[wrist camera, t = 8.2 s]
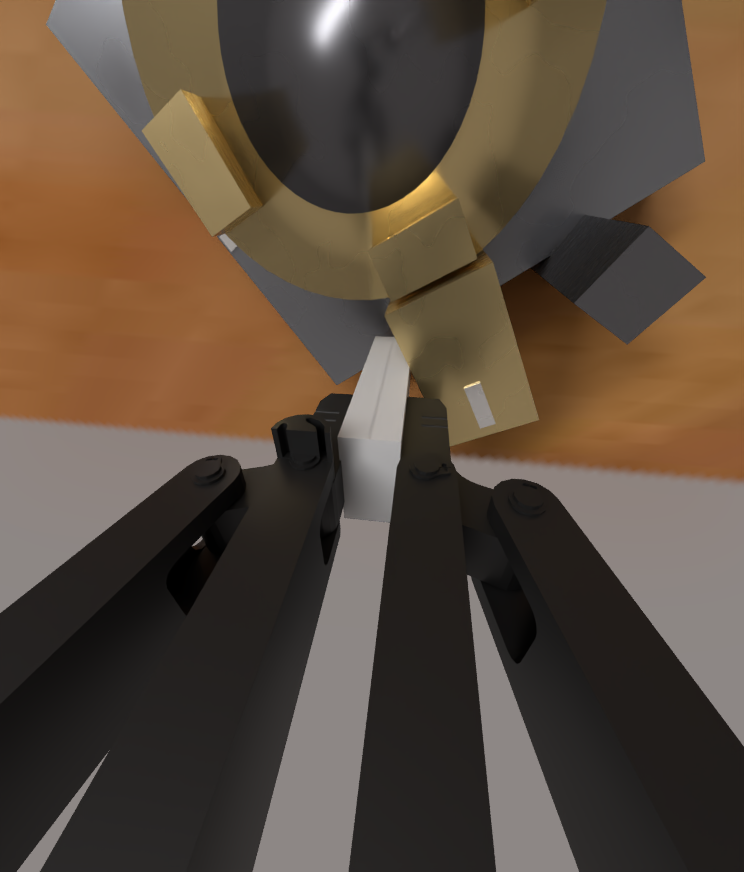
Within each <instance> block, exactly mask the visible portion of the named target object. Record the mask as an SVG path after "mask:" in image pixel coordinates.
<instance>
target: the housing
mask: <svg viewBox="0 0 744 872" xmlns="http://www.w3.org/2000/svg"><path fill="white" fill-rule="evenodd" d="M46 25H47V26H48V27H49V29H50V30H51V31H52V32H53V34H54V35H55V36H56V37H57V39H58V40H59V41H60V42H61V44H62V45H63V46H64V47H65V49H66V50H67V51H68V52H69V54H70V55H71V56H72V57H73V58H74V60H75V61H76V62H77V63H78V65H79V66H80V67H81V68H82V70H83V71H84V72H85V73H86V75H87V76H88V77H89V78H90V80H91V81H92V82H93V83H94V85H95V86H96V87H97V88H98V90H99V91H100V92H101V93H102V94H103V96H104V97H105V98H106V99H107V101H108V102H109V103H110V104H111V106H112V107H113V108H114V109H115V111H116V112H117V113H118V114H119V116H120V117H121V118H122V119H123V121H124V122H125V123H126V124H127V125H128V127H129V128H130V129H131V130H132V132H133V133H134V134H135V135H136V137H137V138H138V139H139V140H140V142H141V143H142V144H143V145H144V147H145V148H146V149H147V150H148V152H149V153H150V154H151V155H152V157H153V158H154V159H155V160H156V161H157V163H158V164H159V165H160V166H161V168H162V169H163V170H164V171H165V173H166V174H167V175H168V176H169V178H170V179H171V180H172V181H173V183H174V184H175V185H176V186H177V188H178V189H179V190H180V191H181V189H180V188H179V186H178V185H177V183H176V182H175V180H174V179H173V177H172V176H171V174H170V173H169V171H168V170H167V168H166V167H165V165H164V164H163V162H162V161H161V159H160V158H159V156H158V155H157V153H156V152H155V150H154V149H153V147H152V146H151V144H150V143H149V141H148V140H147V138H146V137H145V135H144V134H143V132H142V130H143V129H144V128H145V126H146V125H147V124H148V123H149V122H150V121H151V120H152V119H153V118H154V115H153V113H152V110H151V108H150V105H149V103H148V100H147V98H146V95H145V92H144V88H143V85H142V82H141V79H140V75H139V72H138V69H137V66H136V62H135V59H134V56H133V52H132V47H131V43H130V38H129V34H128V29H127V25H126V21H125V16H124V12H123V6H122V0H56V1H55V4H54V6H53V9H52V11H51V14H50V16H49V19H48V21H47V24H46ZM703 162H705V157H704V150H703V143H702V136H701V130H700V123H699V116H698V109H697V102H696V96H695V89H694V82H693V75H692V69H691V62H690V55H689V48H688V42H687V35H686V28H685V21H684V14H683V8H682V1H681V0H606V6H605V11H604V15H603V19H602V23H601V27H600V31H599V35H598V39H597V43H596V47H595V51H594V55H593V59H592V62H591V65H590V68H589V71H588V74H587V77H586V80H585V83H584V86H583V89H582V92H581V95H580V98H579V101H578V103H577V106H576V108H575V110H574V113H573V115H572V117H571V120H570V122H569V124H568V126H567V129H566V131H565V133H564V135H563V138H562V140H561V142H560V144H559V146H558V148H557V150H556V152H555V153H554V155H553V157H552V159H551V161H550V162H549V164H548V166H547V168H546V170H545V171H544V173H543V175H542V177H541V179H540V180H539V182H538V183H537V185H536V186H535V187H534V189H533V190H532V192H531V193H530V195H529V196H528V198H527V199H526V201H525V202H524V203H523V205H522V206H521V208H520V209H519V210H518V211H517V213H516V214H515V215H514V216H513V217H512V219H511V220H510V221H509V222H508V223H507V224H506V226H505V227H504V228H503V229H502V230H501V232H500V233H499V234H498V235H497V236H496V237H495V238H493V239H492V240H491V241H490V242H489V243H488V244H487V245H486V246H485V247H484V248H483V250H484V252H485V253H486V254H487V255H488V257H489V258H490V259H491V260H492V262H493V264H494V267H495V270H496V274H497V277H498V281H499V284H500V286H501V285H503V284H504V283H506V282H507V281H509V280H511V279H512V278H514V277H516V276H517V275H519V274H521V273H522V272H524V271H526V270H527V269H529V268H532V269H533V270H534V271H535V272H536V273H538V274H539V275H540V276H541V277H542V278H544V279H545V280H546V281H547V282H549V283H550V284H551V285H552V286H553V287H555V288H556V289H557V290H558V291H560V292H561V293H562V294H563V295H564V296H566V297H567V298H568V299H569V300H570V301H572V302H573V303H574V304H575V305H577V306H578V307H579V308H581V309H582V310H583V311H584V312H586V313H587V314H588V315H590V316H591V317H592V318H594V319H595V320H596V321H597V322H599V323H600V324H601V325H603V326H604V327H605V328H607V329H608V330H609V331H610V332H612V333H613V334H614V335H616V336H617V337H618V338H619V339H621V340H622V341H623V342H625V343H626V344H629V343H630V342H631V341H632V340H633V339H634V338H636V337H637V336H638V335H639V334H640V333H641V332H643V331H644V330H645V329H646V328H647V327H648V326H650V325H651V324H652V323H653V322H654V321H656V320H657V319H658V318H659V317H660V316H661V315H663V314H664V313H665V312H666V311H667V310H668V309H670V308H671V307H672V306H673V305H674V304H675V303H677V302H678V301H679V300H680V299H681V298H682V297H684V296H685V295H686V294H687V293H688V292H689V291H691V290H692V289H693V288H694V287H695V286H697V285H698V284H699V283H700V282H701V281H702V280H704V279H705V278H706V277H705V276H704V275H703V274H702V273H701V272H700V271H699V270H697V269H696V268H695V267H694V266H693V265H692V264H691V263H690V262H688V261H687V260H686V259H685V258H684V257H683V256H682V255H681V254H680V253H678V252H677V251H676V250H675V249H674V248H673V247H672V246H671V245H669V244H668V243H667V242H666V241H665V240H664V239H663V238H662V237H660V236H659V235H658V234H657V233H656V232H655V231H654V230H653V229H652V228H650V227H649V226H645V225H639V224H634V223H628V222H623V221H617V220H612V219H611V218H613V217H614V216H616V215H618V214H619V213H621V212H623V211H624V210H626V209H627V208H629V207H631V206H632V205H634V204H636V203H637V202H639V201H641V200H642V199H644V198H646V197H647V196H649V195H650V194H652V193H654V192H655V191H657V190H659V189H660V188H662V187H664V186H665V185H667V184H669V183H670V182H672V181H674V180H675V179H677V178H678V177H680V176H682V175H683V174H685V173H687V172H688V171H690V170H692V169H693V168H695V167H697V166H698V165H700V164H701V163H703ZM181 192H182V191H181ZM182 194H183V192H182ZM183 195H184V194H183ZM184 196H185V195H184ZM186 199H187V198H186ZM217 237H218V238H219V240H220V241H221V242H222V243H223V245H224V246H225V247H226V248H227V250H228V251H229V252H230V253H231V255H232V256H233V257H234V258H235V259H236V261H237V262H238V263H239V264H240V266H241V267H242V268H243V269H244V271H245V272H246V273H247V274H248V276H249V277H250V278H251V279H252V281H253V282H254V283H255V284H256V286H257V287H258V288H259V289H260V291H261V292H262V293H263V294H264V295H265V297H266V298H267V299H268V300H269V302H270V303H271V304H272V305H273V307H274V308H275V309H276V310H277V312H278V313H279V314H280V315H281V317H282V318H283V319H284V320H285V322H286V323H287V324H288V325H289V326H290V328H291V329H292V330H293V331H294V333H295V334H296V335H297V336H298V338H299V339H300V340H301V341H302V343H303V344H304V345H305V346H306V348H307V349H308V350H309V351H310V353H311V354H312V355H313V356H314V358H315V359H316V360H317V361H318V362H319V364H320V365H321V366H322V367H323V369H324V370H325V371H326V372H327V374H328V375H329V376H330V377H331V379H332V380H333V381H334V382H335V384H336V385H338V384H340V383H341V382H343V381H345V380H346V379H348V378H350V377H351V376H353V375H355V374H356V373H358V372H359V371H361V370H363V368H364V365H365V363H366V360H367V357H368V355H369V352H370V349H371V347H372V344H373V341H374V339H375V336H381V337H394V335H393V333H392V331H391V329H390V327H389V325H388V323H387V321H386V318H385V316H384V315H385V312H386V310H387V307H388V304H389V302H390V298H382V299H375V300H346V299H340V298H333V297H327V296H324V295H320V294H317V293H313V292H310V291H307V290H304V289H302V288H300V287H298V286H295V285H293V284H291V283H288V282H286V281H285V280H283V279H281V278H280V277H278V276H276V275H274V274H273V273H271V272H269V271H268V270H266V269H265V268H264V267H262V266H261V265H260V264H258V263H257V262H256V261H254V260H253V259H252V258H250V257H249V256H248V255H247V254H245V253H244V252H243V251H242V250H241V249H240V248H239V247H238V246H237V245H236V244H235V243H234V242H233V241H232V240H231V239H229V238H228V236H227V235H226V234H223V235H218V236H217Z"/></svg>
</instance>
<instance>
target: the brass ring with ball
mask: <svg viewBox="0 0 744 872" xmlns="http://www.w3.org/2000/svg"><path fill="white" fill-rule="evenodd" d="M122 6H123V12H124V16H125V21H126V25H127V29H128V34H129V38H130V43H131V47H132V52H133V56H134V59H135V62H136V66H137V69H138V72H139V75H140V79H141V82H142V85H143V88H144V92H145V95H146V98H147V100H148V103H149V105H150V108H151V110H152V113H153V115H154V118H153V119H152V120H151V121H150V122H149V123H148V124H147V125H146V126H145V128H144V129H143V130H142V132H143V134H144V135H145V137H146V138H147V140H148V141H149V143H150V144H151V146H152V147H153V149H154V150H155V152H156V153H157V155H158V156H159V158H160V159H161V161H162V162H163V164H164V165H165V167H166V168H167V170H168V171H169V173H170V174H171V176H172V177H173V179H174V180H175V182H176V183H177V185H178V186H179V188H180V189H181V191H182V192H183V194H184V195H185V197H186V198H187V200H188V201H189V203H190V204H191V206H192V207H193V209H194V210H195V212H196V213H197V215H198V216H199V218H200V219H201V221H202V222H203V224H204V225H205V227H206V228H207V230H208V231H209V233H210V234H211V236H212V237H214V236H218V235H223V234H226V235H227V236H228V238H229V239H231V240H232V241H233V242H234V243H235V244H236V245H237V246H238V247H239V248H240V249H241V250H242V251H243V252H244V253H245V254H247V255H248V256H249V257H250V258H252V259H253V260H254V261H256V262H257V263H258V264H260V265H261V266H262V267H264V268H265V269H266V270H268V271H269V272H271V273H273V274H274V275H276V276H278V277H280V278H281V279H283V280H285V281H286V282H288V283H291V284H293V285H295V286H298V287H300V288H302V289H304V290H307V291H310V292H313V293H317V294H320V295H324V296H327V297H333V298H340V299H346V300H375V299H382V298H390V302H389V304H388V307H387V310H386V312H385V315H384V316H385V318H386V321H387V323H388V325H389V327H390V329H391V331H392V333H393V335H394V337H395V339H396V341H397V343H398V345H399V347H400V349H401V351H402V354H403V356H404V358H405V360H406V362H407V364H408V366H409V368H410V370H411V372H412V374H413V376H414V378H415V380H416V382H417V384H418V387H419V389H420V391H421V393H422V395H423V397H424V398H433V399H440V401H441V402H442V403H443V404H444V405H445V407H446V408H447V420H448V431H449V444H450V446H453V445H457V444H460V443H463V442H467V441H470V440H474V439H477V438H480V437H484V436H487V435H490V434H494V433H497V432H500V431H504V430H507V429H510V428H514V427H517V426H521V425H524V424H527V423H531V422H534V421H537V420H539V418H538V414H537V411H536V407H535V404H534V400H533V397H532V394H531V390H530V387H529V383H528V380H527V377H526V373H525V370H524V366H523V363H522V359H521V356H520V353H519V349H518V346H517V342H516V339H515V335H514V332H513V329H512V325H511V322H510V318H509V315H508V312H507V308H506V305H505V301H504V298H503V294H502V291H501V288H500V284H499V281H498V277H497V274H496V270H495V267H494V264H493V262H492V260H491V259H490V258H489V257H488V255H487V254H486V253H485V252H484V250H483V248H484V247H485V246H486V245H487V244H488V243H489V242H490V241H491V240H492V239H493V238H495V237H496V236H497V235H498V234H499V233H500V232H501V230H502V229H503V228H504V227H505V226H506V224H507V223H508V222H509V221H510V220H511V219H512V217H513V216H514V215H515V214H516V213H517V211H518V210H519V209H520V208H521V206H522V205H523V203H524V202H525V201H526V199H527V198H528V196H529V195H530V193H531V192H532V190H533V189H534V187H535V186H536V185H537V183H538V182H539V180H540V179H541V177H542V175H543V173H544V171H545V170H546V168H547V166H548V164H549V162H550V161H551V159H552V157H553V155H554V153H555V152H556V150H557V148H558V146H559V144H560V142H561V140H562V138H563V135H564V133H565V131H566V129H567V126H568V124H569V122H570V120H571V117H572V115H573V113H574V110H575V108H576V106H577V103H578V101H579V98H580V95H581V92H582V89H583V86H584V83H585V80H586V77H587V74H588V71H589V68H590V65H591V62H592V59H593V55H594V51H595V47H596V43H597V39H598V35H599V31H600V27H601V23H602V19H603V15H604V11H605V6H606V0H122Z"/></svg>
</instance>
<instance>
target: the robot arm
mask: <svg viewBox="0 0 744 872" xmlns="http://www.w3.org/2000/svg"><path fill="white" fill-rule="evenodd" d="M410 373H411V370H410V368H409V366H408V364H407V362H406V360H405V358H404V356H403V354H402V351H401V349H400V347H399V345H398V343H397V341H396V339H395V337H381V336H375V339H374V341H373V344H372V347H371V349H370V352H369V355H368V357H367V360H366V363H365V365H364V368H363V371H362V373H361V376H360V378H359V381H358V384H357V386H356V389H355V392H354V394H353V395H349V394H333V393H331V394H330V395H328V396H327V397H325V398H324V399H323V400H321V401H320V403H319V405H318V407H317V409H316V412H315V413H314V415H295V416H291V417H287V418H285V419H283V420H281V421H279V422H277V423H276V424H275V425H274V426H273V427H272V428H271V430H272V435H273V439H274V443H275V448H276V452H277V457H278V458H277V460H276V461H275V463H274V464H273V465H268V466H264V467H257V468H250V469H241V466H240V464H239V462H238V460H236V459H235V458H233V457H231V456H225V455H216V456H208V457H205V458H202V459H200V460H197V461H195V462H194V463H192V464H190V465H189V466H187V467H186V468H185V469H183V470H182V471H181V472H179V473H178V474H177V475H176V476H174V477H173V478H172V479H170V480H169V481H168V482H167V483H165V484H164V485H163V486H162V487H160V488H159V489H158V490H157V491H155V492H154V493H153V494H151V495H150V496H149V497H148V498H146V499H145V500H144V501H143V502H141V503H140V504H139V505H137V506H136V507H135V508H134V509H132V510H131V511H130V512H128V513H127V514H126V515H125V516H123V517H122V518H121V519H120V520H118V521H117V522H116V523H114V524H113V525H112V526H111V527H109V528H108V529H107V530H106V531H104V532H103V533H102V534H101V535H99V536H98V537H97V538H95V539H94V540H93V541H92V542H90V543H89V544H88V545H86V546H85V547H84V548H83V549H81V550H80V551H79V552H78V553H76V554H75V555H74V556H73V557H71V558H70V559H69V560H68V561H66V562H65V563H64V564H62V565H61V566H60V567H59V568H57V569H56V570H55V571H53V572H52V573H51V574H50V575H48V576H47V577H46V578H45V579H43V580H42V581H41V582H39V583H38V584H37V585H36V586H34V587H33V588H32V589H31V590H29V591H28V592H27V593H25V594H24V595H23V596H22V597H20V598H19V599H18V600H17V601H15V602H14V603H13V604H12V605H10V606H9V607H8V608H6V609H5V610H4V611H3V612H1V613H0V872H17V870H18V869H19V868H20V866H21V865H22V864H23V862H24V861H25V860H26V858H27V857H28V856H29V854H30V853H31V852H32V851H33V849H34V848H35V847H36V845H37V844H38V843H39V841H40V840H41V839H42V837H43V836H44V835H45V834H46V832H47V831H48V830H49V828H50V827H51V826H52V824H53V823H54V822H55V821H56V819H57V818H58V817H59V815H60V814H61V813H62V811H63V810H64V809H65V807H66V806H67V805H68V804H69V802H70V801H71V799H72V798H73V797H74V796H75V794H76V793H77V792H78V790H79V789H80V788H81V787H82V785H83V784H84V783H85V781H86V780H87V779H88V777H89V776H90V775H91V773H92V772H93V771H94V770H95V768H96V767H97V766H98V764H99V763H100V762H101V760H102V759H103V758H104V756H105V755H106V754H107V753H108V754H107V756H106V758H105V759H104V761H103V763H102V765H101V766H100V768H99V770H98V772H97V773H96V775H95V777H94V778H93V780H92V782H91V784H90V786H89V787H88V789H87V791H86V793H85V794H84V796H83V798H82V799H81V801H80V803H79V805H78V806H77V808H76V810H75V812H74V814H73V815H72V817H71V819H70V821H69V822H68V824H67V826H66V828H65V829H64V831H63V832H62V834H61V836H60V838H59V840H58V841H57V843H56V845H55V847H54V848H53V850H52V852H51V853H50V855H49V857H48V859H47V860H46V862H45V864H44V866H43V867H42V869H41V871H40V872H252V871H253V867H254V864H255V860H256V856H257V852H258V848H259V844H260V840H261V837H262V833H263V829H264V825H265V821H266V817H267V814H268V810H269V806H270V802H271V798H272V795H273V791H274V787H275V783H276V779H277V775H278V772H279V768H280V764H281V760H282V756H283V752H284V748H285V745H286V741H287V737H288V733H289V729H290V726H291V722H292V718H293V714H294V710H295V706H296V703H297V698H298V695H299V691H300V687H301V683H302V680H303V675H304V672H305V668H306V664H307V660H308V657H309V653H310V649H311V645H312V641H313V637H314V634H315V630H316V626H317V622H318V618H319V615H320V610H321V607H322V603H323V599H324V595H325V591H326V587H327V584H328V580H329V576H330V572H331V568H332V564H333V561H334V557H335V553H336V549H337V546H338V542H339V538H340V517H341V513H342V509H343V508H344V518H350V519H360V520H369V521H379V522H388V523H390V528H389V536H388V545H387V553H386V562H385V571H384V578H383V588H382V596H381V604H380V612H379V621H378V629H377V638H376V646H375V654H374V663H373V671H372V679H371V688H370V697H369V705H368V713H367V722H366V730H365V739H364V747H363V755H362V764H361V772H360V781H359V789H358V797H357V806H356V814H355V823H354V831H353V840H352V848H351V856H350V865H349V872H496V866H495V856H494V845H493V835H492V825H491V817H490V816H491V815H490V805H489V795H488V784H487V775H486V765H485V755H484V744H483V734H482V724H481V714H480V704H479V693H478V683H477V673H476V663H475V652H474V642H473V632H472V622H471V613H470V602H469V591H468V581H467V575H470V576H471V578H472V581H473V584H474V587H475V590H476V592H477V595H478V598H479V601H480V603H481V606H482V609H483V612H484V614H485V617H486V620H487V622H488V625H489V628H490V631H491V633H492V636H493V639H494V641H495V644H496V647H497V650H498V652H499V655H500V657H501V660H502V663H503V666H504V669H505V671H506V674H507V677H508V679H509V682H510V685H511V687H512V690H513V693H514V695H515V698H516V701H517V704H518V706H519V709H520V712H521V715H522V717H523V720H524V723H525V725H526V728H527V731H528V734H529V736H530V739H531V742H532V744H533V747H534V750H535V753H536V755H537V758H538V761H539V764H540V766H541V769H542V772H543V774H544V777H545V780H546V783H547V785H548V788H549V791H550V793H551V796H552V799H553V802H554V804H555V807H556V810H557V812H558V815H559V817H560V820H561V823H562V826H563V829H564V831H565V834H566V837H567V839H568V842H569V845H570V848H571V850H572V853H573V856H574V858H575V861H576V864H577V867H578V869H579V872H744V746H743V745H742V744H741V742H740V741H739V740H738V738H737V737H736V735H735V734H734V733H733V732H732V730H731V729H730V728H729V726H728V725H727V723H726V722H725V721H724V719H723V718H722V717H721V715H720V714H719V713H718V712H717V710H716V709H715V708H714V706H713V705H712V703H711V702H710V701H709V699H708V698H707V697H706V695H705V694H704V693H703V691H702V690H701V689H700V688H699V686H698V685H697V683H696V682H695V681H694V679H693V678H692V677H691V675H690V674H689V673H688V671H687V670H686V669H685V667H684V666H683V665H682V663H681V662H680V661H679V659H677V657H676V655H675V654H674V653H673V651H672V650H671V649H670V647H669V646H668V645H667V644H666V642H665V641H664V639H663V638H662V637H661V636H660V634H659V633H658V631H657V630H656V629H655V628H654V626H653V625H652V623H651V622H650V621H649V619H648V618H647V617H646V615H645V614H644V613H643V611H642V610H641V609H640V607H639V606H638V605H637V603H636V602H635V601H634V599H633V598H632V597H631V595H630V594H629V593H628V591H627V590H626V589H625V587H624V586H623V585H622V584H621V582H620V581H619V579H618V578H617V577H616V575H615V574H614V573H613V571H612V570H611V569H610V567H609V566H608V565H607V563H606V562H605V561H604V559H603V558H602V557H601V555H600V554H599V553H598V551H597V550H596V549H595V548H594V546H593V545H592V543H591V542H590V541H589V539H588V538H587V537H586V535H585V534H584V533H583V531H582V530H581V529H580V527H579V526H578V525H577V523H576V522H575V521H574V519H573V518H572V517H571V515H570V514H569V513H568V511H567V510H566V509H565V507H564V506H563V505H562V503H561V502H560V501H559V499H558V498H557V497H556V496H555V495H554V494H553V493H551V492H550V491H549V490H547V489H546V488H544V487H543V486H541V485H539V484H537V483H534V482H531V481H527V480H522V479H510V480H506V481H501V482H500V483H499V484H498V485H497V486H495V487H494V489H491V488H487V487H484V486H481V485H478V484H475V483H473V482H471V481H469V480H467V479H465V478H464V477H462V476H461V475H460V474H459V473H458V472H457V471H456V469H455V467H454V464H453V463H452V462H451V456H450V444H449V431H448V420H447V408H446V407H445V405H444V404H443V403H442V402H441V401H440V399H433V398H417V397H409V389H410ZM201 536H202V538H203V539H202V541H201V542H199V543H198V544H197V545H195V546H192V545H193V544H194V543H195V542H196V541H197V540H198V539H199V538H200V537H201ZM109 750H110V751H109ZM108 751H109V752H108Z"/></svg>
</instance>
